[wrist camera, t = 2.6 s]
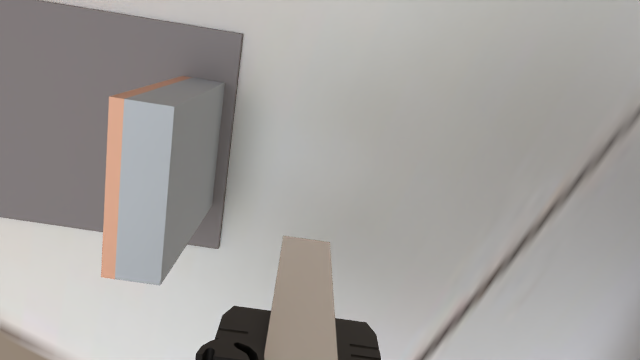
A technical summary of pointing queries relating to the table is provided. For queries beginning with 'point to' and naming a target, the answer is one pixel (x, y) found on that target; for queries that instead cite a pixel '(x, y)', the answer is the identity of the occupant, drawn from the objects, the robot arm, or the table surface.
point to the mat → (92, 103)
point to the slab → (158, 174)
